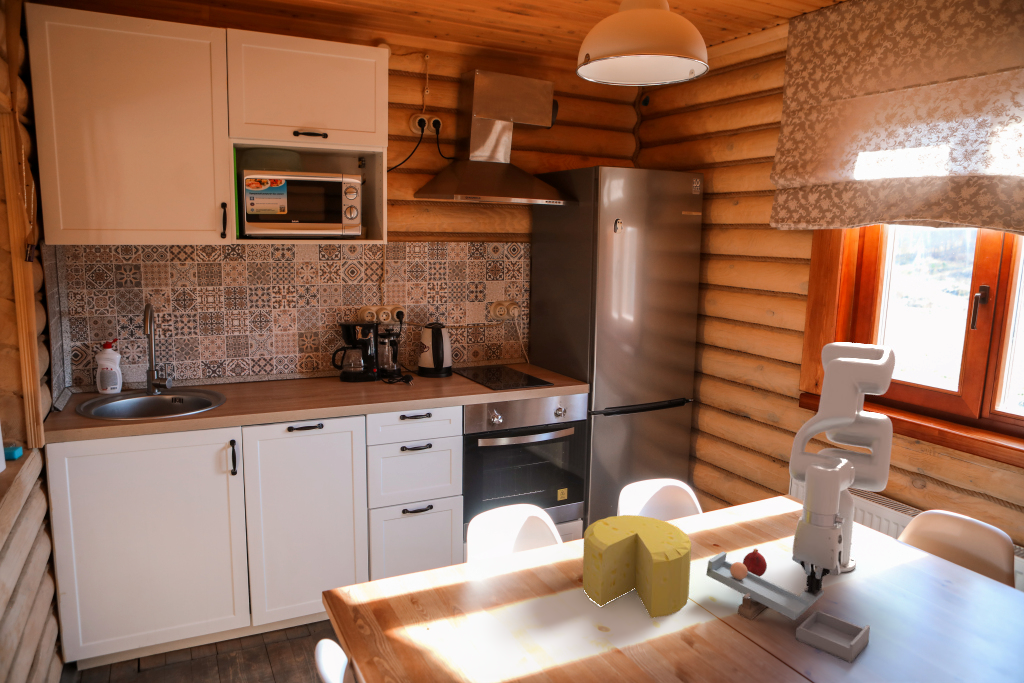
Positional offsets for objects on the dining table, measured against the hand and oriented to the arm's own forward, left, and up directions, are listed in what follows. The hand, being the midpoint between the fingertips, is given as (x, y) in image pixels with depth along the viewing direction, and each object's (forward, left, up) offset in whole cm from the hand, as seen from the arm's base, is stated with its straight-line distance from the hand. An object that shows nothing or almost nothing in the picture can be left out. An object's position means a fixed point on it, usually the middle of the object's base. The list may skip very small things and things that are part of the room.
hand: (813, 591), depth 159 cm
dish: (+9, +8, -5) cm, 13 cm away
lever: (+5, -10, 0) cm, 11 cm away
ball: (+9, -16, +3) cm, 19 cm away
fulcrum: (+9, -10, -5) cm, 14 cm away
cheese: (+22, -35, -5) cm, 42 cm away
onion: (-5, -17, -5) cm, 18 cm away
